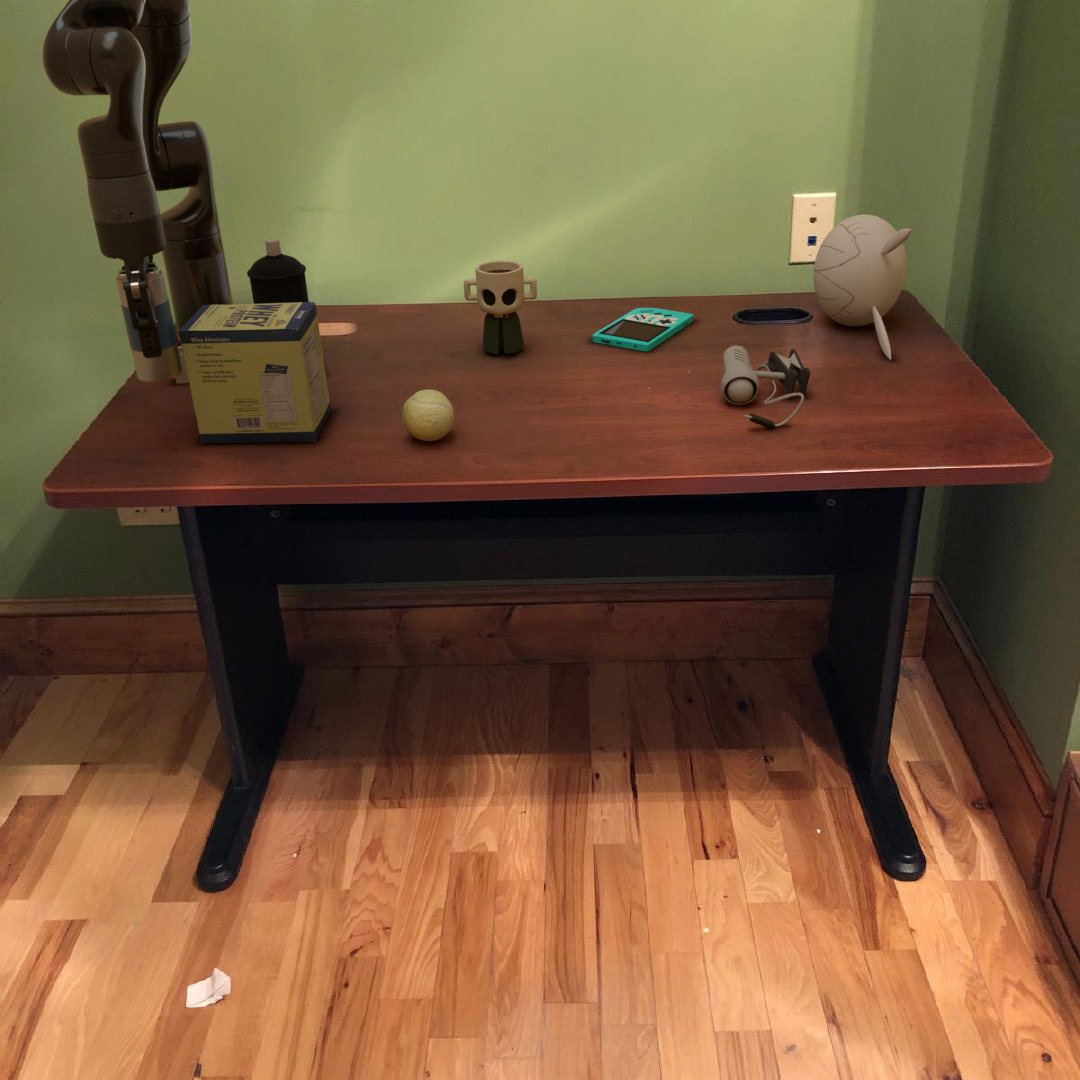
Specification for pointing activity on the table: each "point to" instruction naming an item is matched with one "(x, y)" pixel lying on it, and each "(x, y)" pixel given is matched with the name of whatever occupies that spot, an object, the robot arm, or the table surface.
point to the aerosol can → (277, 277)
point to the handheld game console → (643, 328)
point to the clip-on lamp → (744, 381)
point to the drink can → (170, 359)
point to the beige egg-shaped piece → (861, 272)
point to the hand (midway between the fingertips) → (154, 347)
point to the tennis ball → (428, 415)
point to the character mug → (501, 303)
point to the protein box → (256, 372)
